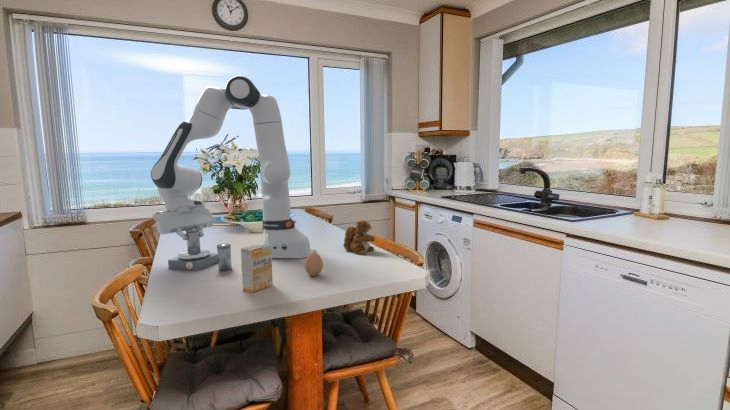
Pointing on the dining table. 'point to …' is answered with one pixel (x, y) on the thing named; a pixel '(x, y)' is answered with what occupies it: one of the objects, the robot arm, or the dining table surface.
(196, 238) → the cylinder
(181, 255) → the pan
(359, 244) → the stuffed squirrel
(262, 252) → the supplement box
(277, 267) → the dining table surface
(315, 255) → the egg
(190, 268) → the scale
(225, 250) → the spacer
